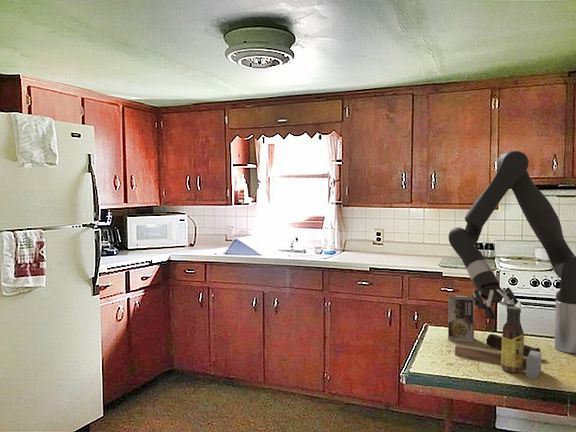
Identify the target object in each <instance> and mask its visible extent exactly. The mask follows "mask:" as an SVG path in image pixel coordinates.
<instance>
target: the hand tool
mask: <svg viewBox="0 0 576 432" xmlns="http://www.w3.org/2000/svg"><path fill="white" fill-rule="evenodd" d="M485 342H486V345H488V346H490V347H491V348H494V349H496V350H497V349H498V350H502V335H501V336H500V335H497V334H493V333H490V334H488V335H487V338H486V341H485ZM530 351H537V352H541V349H540V348H539V347H533V346H530V345H526V344H524V348H523V356H528V355H529V353H530ZM541 353H542V352H541Z"/></svg>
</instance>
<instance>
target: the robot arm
mask: <svg viewBox="0 0 576 432" xmlns="http://www.w3.org/2000/svg"><path fill="white" fill-rule="evenodd" d="M529 163H530V162H529V159H528V156H527V155H526V154H525V153H524V152H522V151H520V150H509V151H506V152H503V153H502V154H500V156H499V157H498V158H497V161H496V168H497V172H496V173H495V176H494V177H493V178H492V181H490V184H489V185H488V186H487V187H486V189H484V190H483V192H482V193H481V194H480V195H479V196H478V198H477V199H476V200H475V201H474V202H473V204H472V205H471V207H470V209H469V210H468V211H467V213H466V215H465V216H464V221H465V222H466V225H465V228H463V227H459V226H458V227H453V228H451V230H450V231H449V233H448V241H449V242H448V243H449V245H450V246H451V247H452V249H453V250H454V251H455V253H456V255H457V256H458V257H459V258H460V259H461V260H462V263H463V265H464V267H465V268H466V271H467V273H468V276H469V278H470V280H471V282H472V284H473V286H474V287H475V289H474V291H473V292H472V293H471V296H472V297H473V299H474V305H475V306H476V308H477V309H478V310H483V311H484V312H485V313H486V315H487V318H488V319H489V320H490V321H495V319H496V318H497V315H496V313H495V312H494V310H493V309H492V306H491V305H493V304H500V305H502V306H505V307H506V308H507V307H509V306H513V307H516V305H517V304H518V303H519V300H518V299H517V298H516V296H515V294H514V293H513V291H512V289H511V287H507V288H505V289H502V287H501V286H500V281H499V280H498V278H497V276H496V275H495V272H494V271H493V269H492V268H491V266H490V264H489V263H488V261H487V260H486V258H485V257H484V255H483V253H482V251H481V250H480V249H479V248H477V247H476V244H477V242H478V241H479V239H480V236H481V233H482V231H483V227H484V225H485V224H486V223H487V222H488V220H489V219H490V217H491V216H492V214H493V212H494V211H495V210H496V208H497V206H498V204H500V202H501V201H502V200H503V197H504V196H505V195H506V194H507V192H508V191H509V190H510V189H511V191H512V192H513V194H514V196H515V199H516V201H517V204H518V205H519V207H520V209H521V212H522V213H523V215H524V217H525V220H526V221H527V223H528V224H529V226H530V228H531V229H532V231H533V233H534V235H535V236H536V237H537V239H538V241H539V242H540V244H541V245H542V247H543V248H544V251H545V252H546V254H547V258H548V259H549V261H550V264H551V266H552V268H553V271H554V273H555V274H556V275H557V277H559V279H560V286H559V290H558V291H557V292H556V293H555V294H556V295H555V326H554V328H555V329H554V333H555V334H554V348H555V349H556V350H557V351H559V352H562V353H568V354H576V255H575V254H574V252H573V251H572V250H571V248H570V246H568V243H567V242H566V240H565V238H564V235H563V229H562V225H561V224H562V223H561V221H560V218H559V216H558V214H557V212H556V210H555V209H554V208H553V205H552V204H551V202H550V200H549V199H548V198H547V197H546V196H545V194H544V193H543V192H542V191H541V190H540V189H539V188H538V187H537V185H536V184H535V183H534V181H533V180H532V178H531V176H530V174H529V172H528V168H529ZM482 298H483V299H482ZM503 299H504V300H503Z"/></svg>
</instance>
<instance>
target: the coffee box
mask: <svg viewBox="0 0 576 432" xmlns="http://www.w3.org/2000/svg"><path fill="white" fill-rule="evenodd" d="M447 301H448V303H447V306H448V307H447V308H448V309H447V310H448V312H447V313H448V316H447V317H448V318H447V322H448V324H447V327H448V328H447V329H448V331H447V340H448V341H456V342H457V341H458V342H466V343H474V341H475V302H474V299H473V297H472V295H470V296H469V295H460V294H459V295H457V294H456V295H455V294H450V295H449V296H448V299H447Z"/></svg>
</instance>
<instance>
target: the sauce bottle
mask: <svg viewBox="0 0 576 432" xmlns="http://www.w3.org/2000/svg"><path fill="white" fill-rule="evenodd" d="M521 313H522V308H521V307H518V306H515V307H513V306H509V307H506V322H505V323H504V325H503V327H502V334H501V337H502V349H501V351H500V352H501V363H500V364H501V369H502V370H503V371H505V372H508V373H517V374H518V373H521V372H523V356H524V355H523V348H524V345H525V343H524V342H525V341H524V340H525V332H524V329H523V327H522V323H521Z"/></svg>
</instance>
